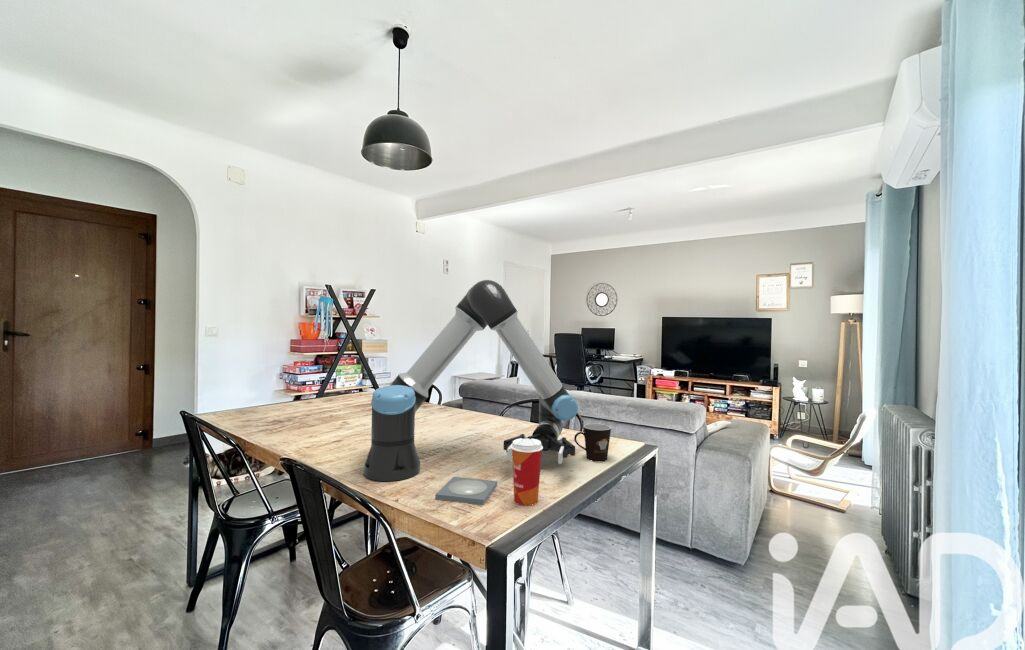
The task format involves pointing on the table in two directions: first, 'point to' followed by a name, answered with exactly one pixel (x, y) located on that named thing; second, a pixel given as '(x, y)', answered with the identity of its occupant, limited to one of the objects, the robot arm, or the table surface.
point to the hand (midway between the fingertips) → (533, 456)
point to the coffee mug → (596, 441)
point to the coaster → (467, 490)
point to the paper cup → (526, 470)
